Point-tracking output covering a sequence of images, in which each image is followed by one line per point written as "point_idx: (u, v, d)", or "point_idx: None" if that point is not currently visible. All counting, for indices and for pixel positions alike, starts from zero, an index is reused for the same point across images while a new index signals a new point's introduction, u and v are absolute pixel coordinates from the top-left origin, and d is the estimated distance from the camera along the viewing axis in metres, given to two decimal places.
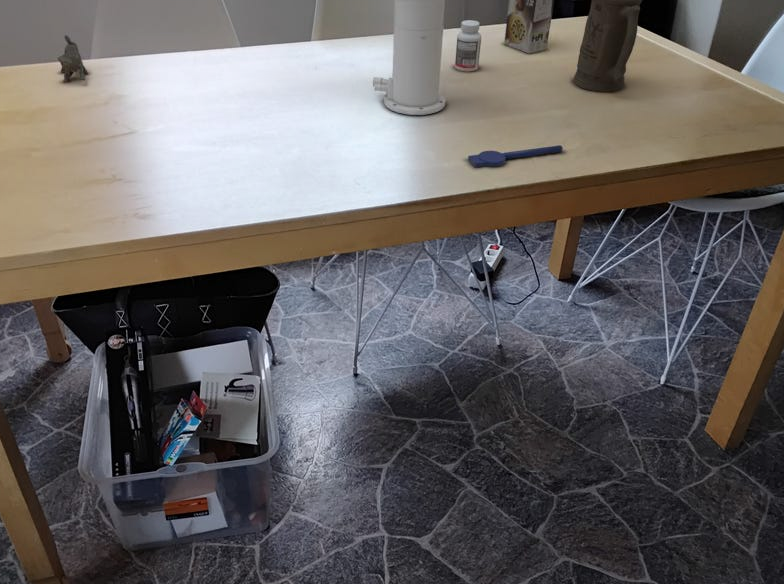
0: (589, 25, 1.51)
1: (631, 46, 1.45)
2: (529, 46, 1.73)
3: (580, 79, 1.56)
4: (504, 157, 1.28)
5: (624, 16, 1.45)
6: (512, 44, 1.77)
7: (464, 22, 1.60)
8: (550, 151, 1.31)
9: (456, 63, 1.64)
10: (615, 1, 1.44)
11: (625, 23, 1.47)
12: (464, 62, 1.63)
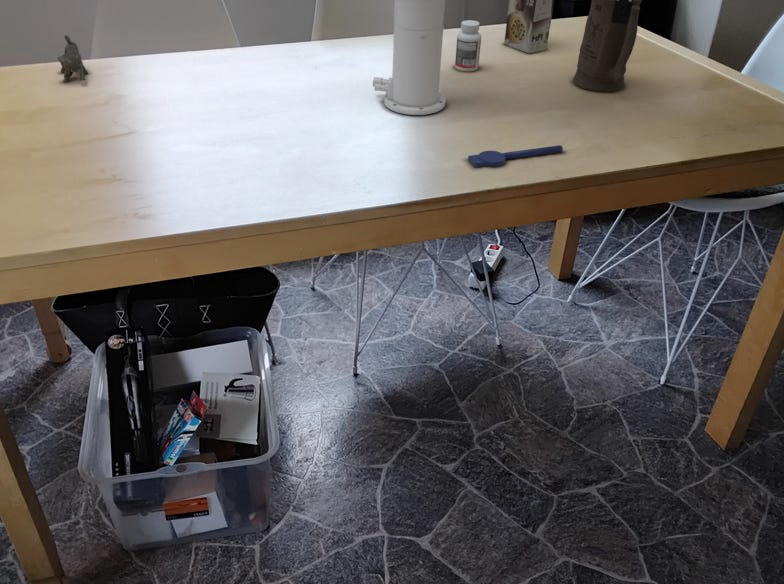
0: (589, 25, 1.51)
1: (631, 46, 1.45)
2: (529, 46, 1.73)
3: (580, 79, 1.56)
4: (504, 157, 1.28)
5: None
6: (512, 44, 1.77)
7: (464, 22, 1.60)
8: (550, 151, 1.31)
9: (456, 63, 1.64)
10: None
11: None
12: (464, 62, 1.63)
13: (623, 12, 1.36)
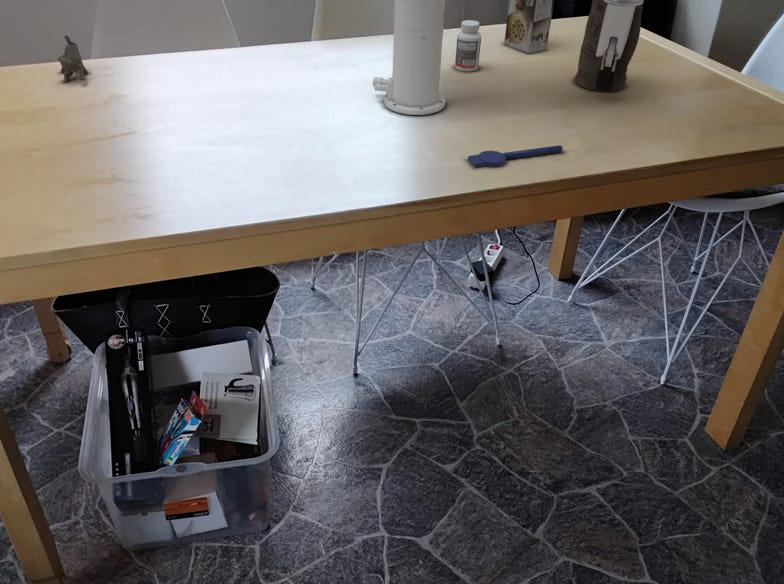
0: (590, 25, 1.51)
1: (634, 45, 1.45)
2: (529, 46, 1.73)
3: (582, 79, 1.56)
4: (504, 157, 1.28)
5: None
6: (512, 44, 1.77)
7: (464, 22, 1.60)
8: (550, 151, 1.31)
9: (456, 63, 1.64)
10: None
11: None
12: (464, 62, 1.63)
13: (606, 80, 1.48)
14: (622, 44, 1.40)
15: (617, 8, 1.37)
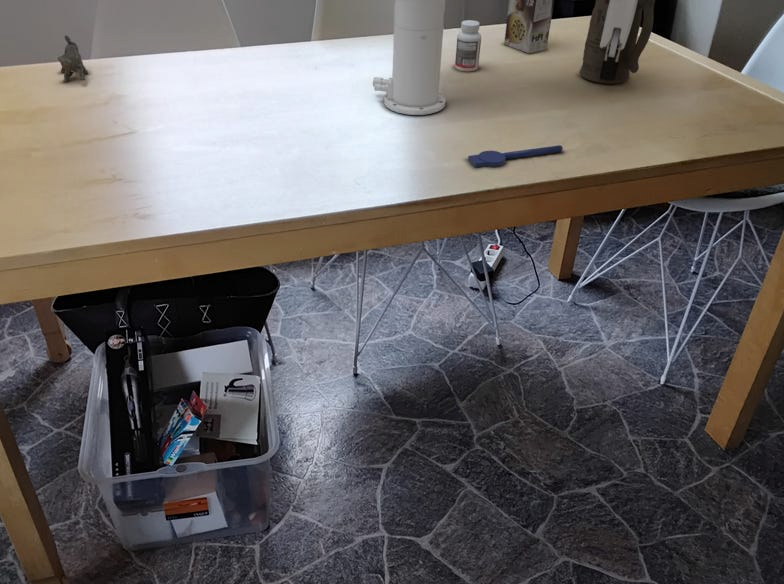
0: (598, 19, 1.53)
1: (648, 35, 1.48)
2: (529, 46, 1.73)
3: (591, 73, 1.59)
4: (504, 157, 1.28)
5: (637, 7, 1.48)
6: (512, 44, 1.77)
7: (464, 22, 1.60)
8: (550, 151, 1.31)
9: (456, 63, 1.64)
10: None
11: (636, 14, 1.50)
12: (464, 62, 1.63)
13: (610, 71, 1.52)
14: (625, 35, 1.44)
15: (620, 0, 1.41)
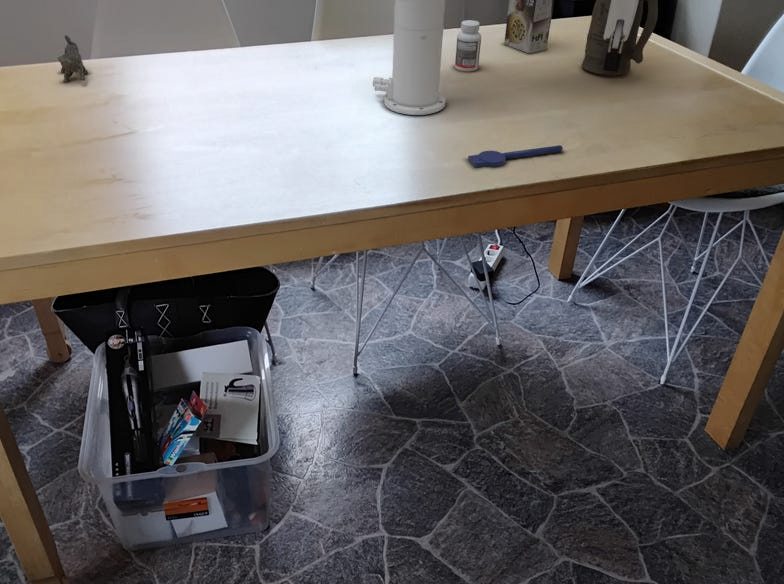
0: (602, 12, 1.56)
1: (653, 26, 1.52)
2: (529, 46, 1.73)
3: (596, 65, 1.62)
4: (504, 157, 1.28)
5: None
6: (512, 44, 1.77)
7: (464, 22, 1.60)
8: (550, 151, 1.31)
9: (456, 63, 1.64)
10: None
11: (639, 6, 1.54)
12: (464, 62, 1.63)
13: (613, 62, 1.56)
14: (628, 26, 1.48)
15: None
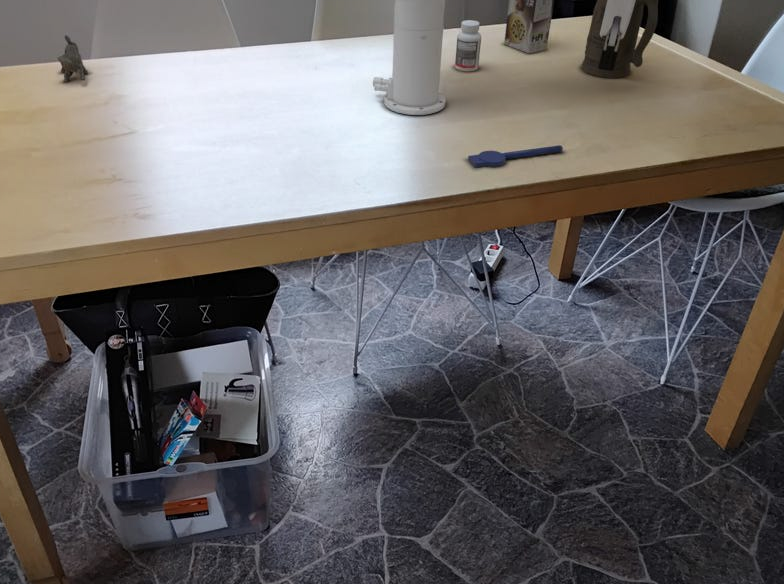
0: (602, 16, 1.56)
1: (653, 31, 1.52)
2: (529, 46, 1.73)
3: (595, 68, 1.62)
4: (504, 157, 1.28)
5: (640, 3, 1.52)
6: (512, 44, 1.77)
7: (464, 22, 1.60)
8: (550, 151, 1.31)
9: (456, 63, 1.64)
10: None
11: (639, 10, 1.54)
12: (464, 62, 1.63)
13: (609, 60, 1.52)
14: (625, 24, 1.43)
15: None
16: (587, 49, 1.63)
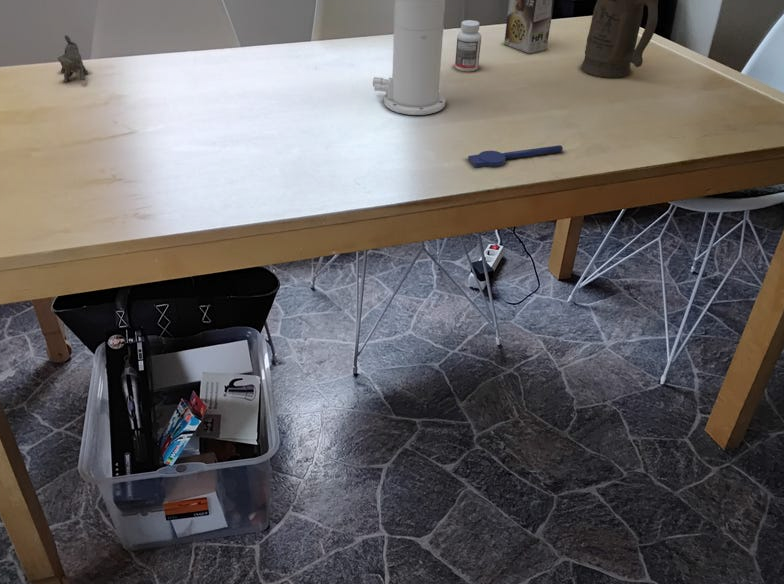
0: (602, 16, 1.56)
1: (653, 31, 1.52)
2: (529, 46, 1.73)
3: (595, 68, 1.62)
4: (504, 157, 1.28)
5: (640, 3, 1.52)
6: (512, 44, 1.77)
7: (464, 22, 1.60)
8: (550, 151, 1.31)
9: (456, 63, 1.64)
10: None
11: (639, 10, 1.54)
12: (464, 62, 1.63)
13: None
14: None
15: None
16: (587, 49, 1.63)
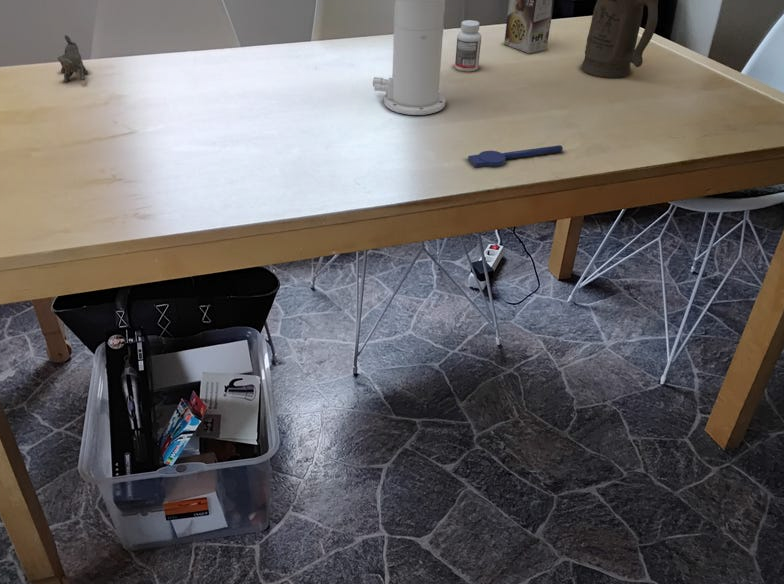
0: (602, 16, 1.56)
1: (653, 31, 1.52)
2: (529, 46, 1.73)
3: (595, 68, 1.62)
4: (504, 157, 1.28)
5: (640, 3, 1.52)
6: (512, 44, 1.77)
7: (464, 22, 1.60)
8: (550, 151, 1.31)
9: (456, 63, 1.64)
10: None
11: (639, 10, 1.54)
12: (464, 62, 1.63)
13: None
14: None
15: None
16: (587, 49, 1.63)
